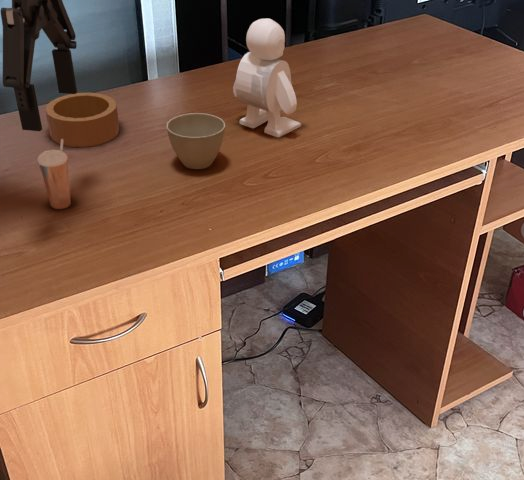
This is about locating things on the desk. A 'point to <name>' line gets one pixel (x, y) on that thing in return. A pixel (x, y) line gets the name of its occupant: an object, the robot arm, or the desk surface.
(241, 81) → the toy robot
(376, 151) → the desk surface
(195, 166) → the flower pot
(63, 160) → the milkshake
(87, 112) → the tape
